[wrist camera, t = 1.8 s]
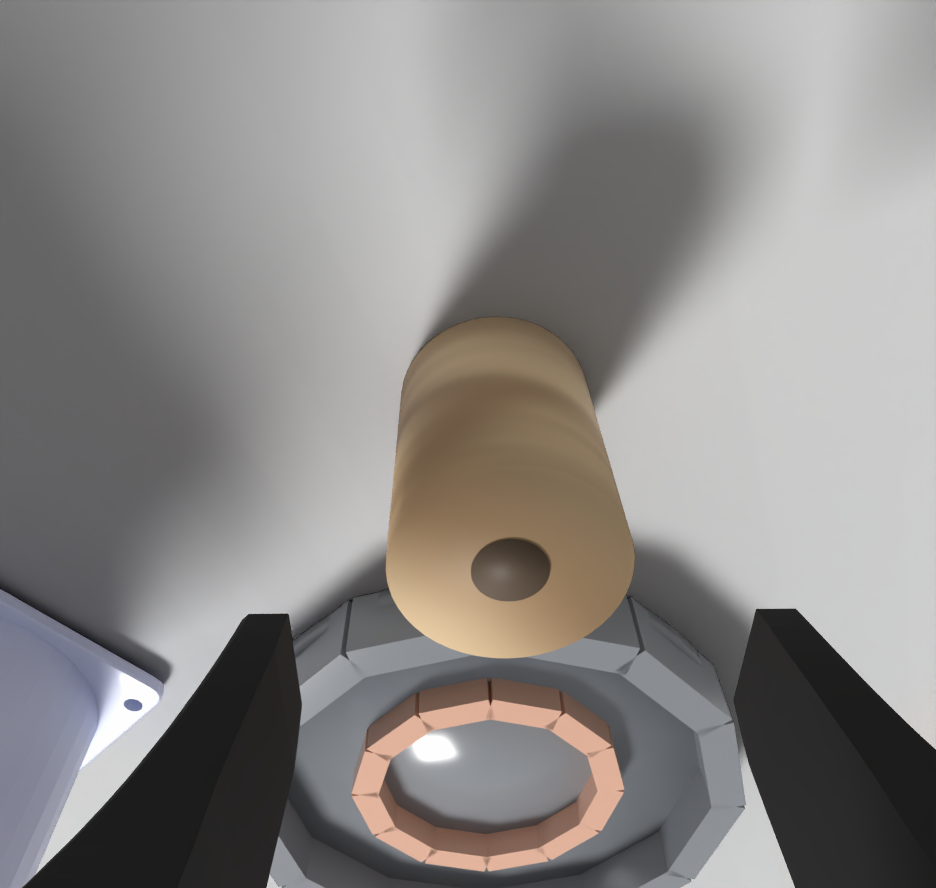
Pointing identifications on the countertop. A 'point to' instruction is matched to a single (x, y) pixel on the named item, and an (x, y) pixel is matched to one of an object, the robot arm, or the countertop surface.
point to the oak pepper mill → (503, 496)
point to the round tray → (505, 759)
